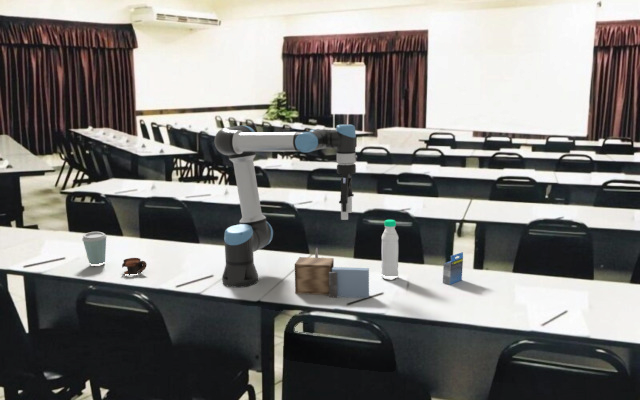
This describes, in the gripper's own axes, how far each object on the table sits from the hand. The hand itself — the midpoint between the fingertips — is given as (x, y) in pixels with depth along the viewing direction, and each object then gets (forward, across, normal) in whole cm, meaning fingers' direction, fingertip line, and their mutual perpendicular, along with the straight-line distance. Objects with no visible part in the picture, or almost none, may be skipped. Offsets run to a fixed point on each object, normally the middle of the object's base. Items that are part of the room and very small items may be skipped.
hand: (346, 215), depth 248 cm
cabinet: (+29, -11, +11) cm, 32 cm away
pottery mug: (+29, +4, +95) cm, 100 cm away
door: (+29, -14, -3) cm, 32 cm away
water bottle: (+29, +10, -17) cm, 35 cm away
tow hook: (+29, +11, +14) cm, 34 cm away
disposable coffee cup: (+29, +14, +119) cm, 123 cm away
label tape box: (+29, +8, -43) cm, 52 cm away
